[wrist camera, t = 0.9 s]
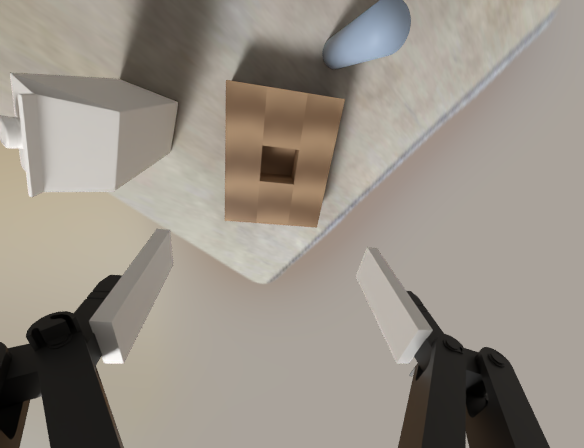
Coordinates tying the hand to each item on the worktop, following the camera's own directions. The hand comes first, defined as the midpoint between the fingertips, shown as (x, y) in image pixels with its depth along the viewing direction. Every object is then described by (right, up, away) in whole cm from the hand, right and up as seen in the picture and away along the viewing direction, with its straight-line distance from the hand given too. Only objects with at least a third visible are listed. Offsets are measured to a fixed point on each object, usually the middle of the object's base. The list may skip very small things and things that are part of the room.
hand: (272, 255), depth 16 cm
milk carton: (-18, +16, +16) cm, 29 cm away
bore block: (-1, +12, +20) cm, 24 cm away
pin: (+7, +24, +14) cm, 29 cm away
